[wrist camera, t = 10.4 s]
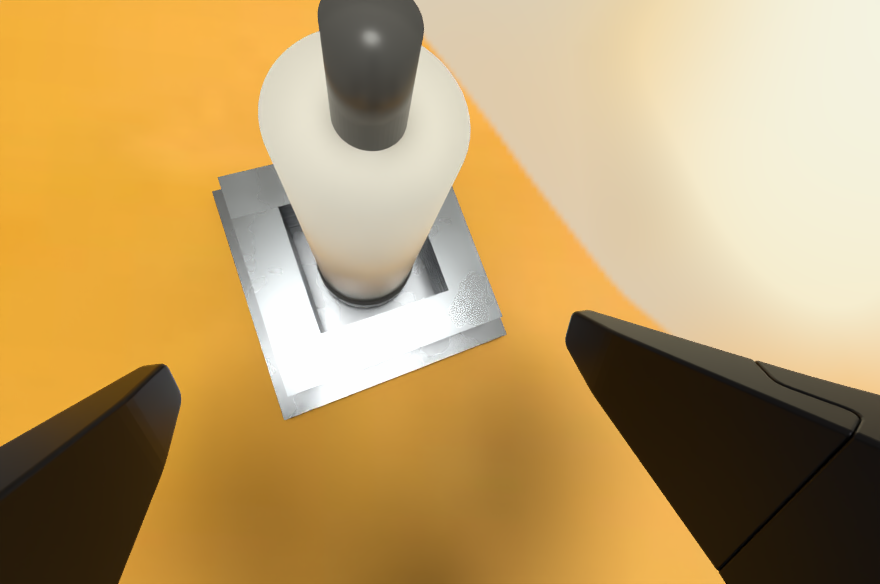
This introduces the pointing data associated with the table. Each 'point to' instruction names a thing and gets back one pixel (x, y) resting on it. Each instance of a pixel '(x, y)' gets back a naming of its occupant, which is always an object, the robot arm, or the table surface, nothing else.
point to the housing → (341, 325)
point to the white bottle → (364, 142)
